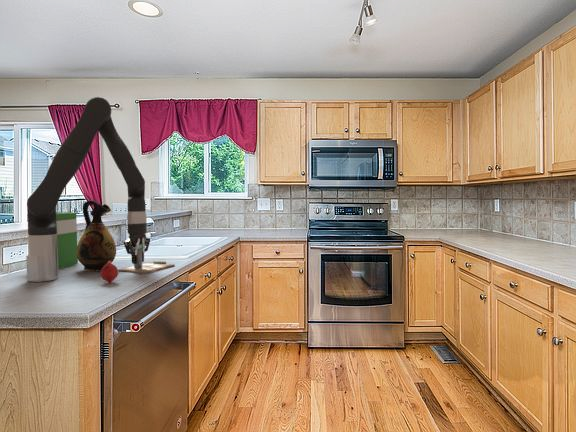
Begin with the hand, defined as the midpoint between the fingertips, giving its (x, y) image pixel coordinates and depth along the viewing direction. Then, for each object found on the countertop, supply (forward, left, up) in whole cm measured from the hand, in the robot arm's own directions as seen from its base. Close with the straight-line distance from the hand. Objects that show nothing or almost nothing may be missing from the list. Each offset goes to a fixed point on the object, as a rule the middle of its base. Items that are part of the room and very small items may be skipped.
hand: (138, 262), depth 162 cm
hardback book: (-4, +42, -4) cm, 42 cm away
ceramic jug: (-3, +20, -4) cm, 21 cm away
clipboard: (+6, 0, -4) cm, 7 cm away
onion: (-21, -6, -4) cm, 22 cm away
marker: (0, 0, -2) cm, 2 cm away
